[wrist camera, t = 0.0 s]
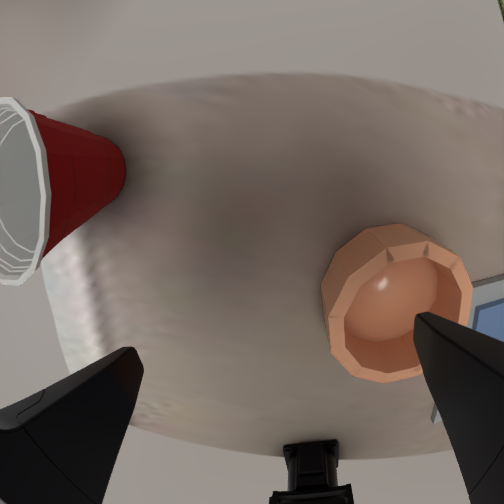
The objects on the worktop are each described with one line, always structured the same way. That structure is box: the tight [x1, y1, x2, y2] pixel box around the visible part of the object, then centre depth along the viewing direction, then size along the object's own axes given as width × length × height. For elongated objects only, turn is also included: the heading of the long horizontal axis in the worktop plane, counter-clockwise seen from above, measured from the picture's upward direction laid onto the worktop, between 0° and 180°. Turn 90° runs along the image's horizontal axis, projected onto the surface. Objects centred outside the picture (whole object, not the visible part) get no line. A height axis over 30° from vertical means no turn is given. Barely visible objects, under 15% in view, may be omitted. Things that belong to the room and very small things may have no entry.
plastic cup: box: [0, 97, 126, 286], centre depth 17 cm, size 11×11×12 cm
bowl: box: [321, 223, 473, 383], centre depth 21 cm, size 11×11×5 cm
